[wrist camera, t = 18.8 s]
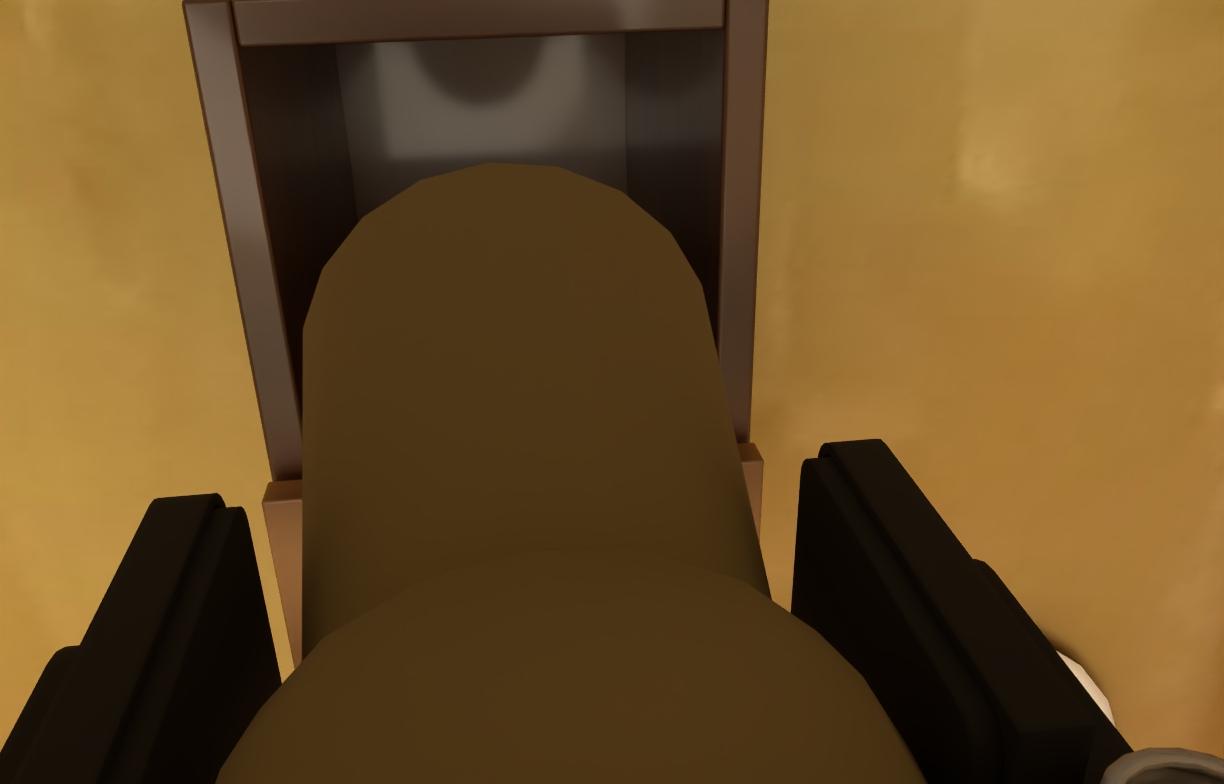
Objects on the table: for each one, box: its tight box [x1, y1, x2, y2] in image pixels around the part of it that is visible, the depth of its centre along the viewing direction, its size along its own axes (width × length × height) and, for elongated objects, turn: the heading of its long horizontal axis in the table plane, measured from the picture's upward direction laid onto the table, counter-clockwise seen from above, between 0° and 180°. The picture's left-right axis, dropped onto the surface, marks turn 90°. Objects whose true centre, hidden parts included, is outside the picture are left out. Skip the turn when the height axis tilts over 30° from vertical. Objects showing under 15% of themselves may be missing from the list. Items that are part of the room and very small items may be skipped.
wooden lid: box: [262, 443, 764, 669], centre depth 22 cm, size 10×10×3 cm
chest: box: [182, 0, 769, 482], centre depth 26 cm, size 10×10×14 cm
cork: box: [215, 162, 928, 784], centre depth 10 cm, size 6×6×11 cm
